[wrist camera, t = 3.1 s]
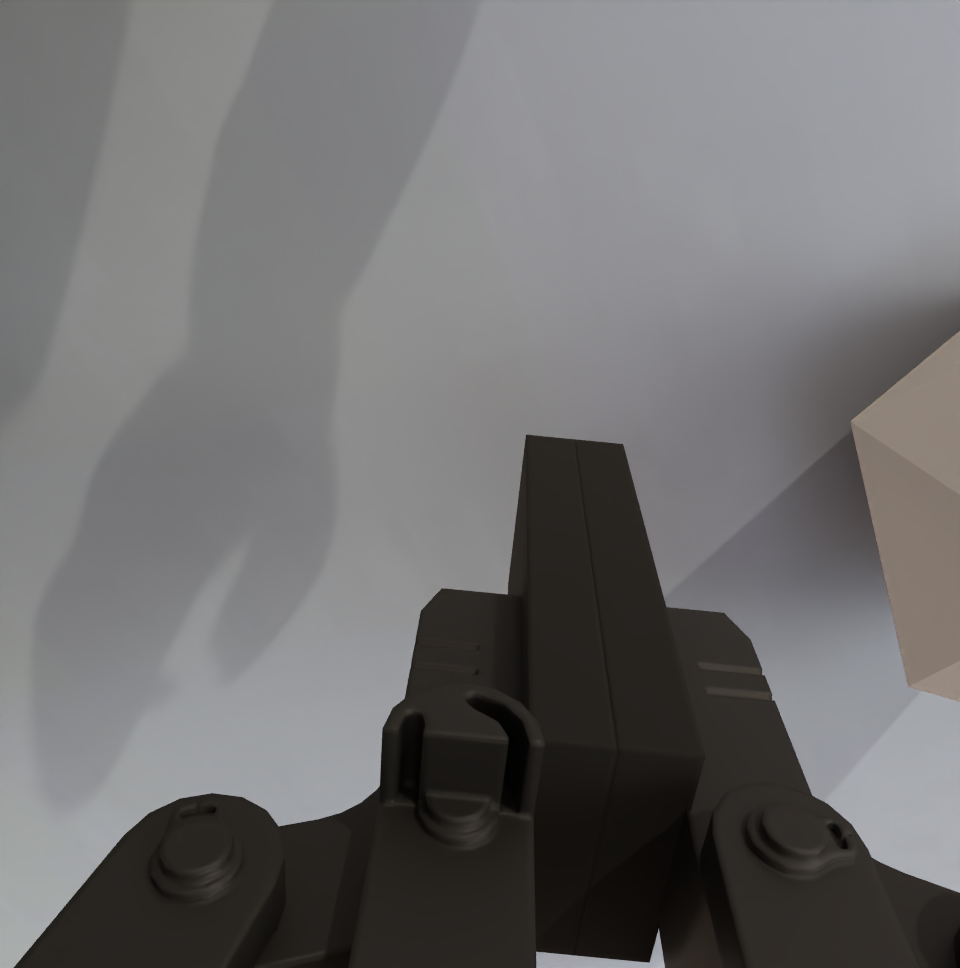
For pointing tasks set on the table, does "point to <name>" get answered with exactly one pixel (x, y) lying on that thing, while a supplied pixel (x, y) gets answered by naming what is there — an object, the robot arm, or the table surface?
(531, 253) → the table surface
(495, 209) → the table surface
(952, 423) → the die
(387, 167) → the table surface
